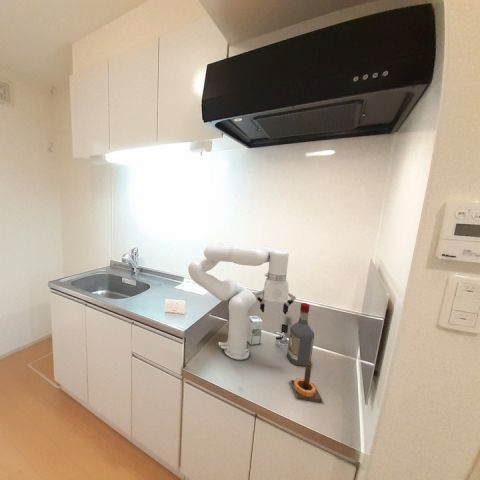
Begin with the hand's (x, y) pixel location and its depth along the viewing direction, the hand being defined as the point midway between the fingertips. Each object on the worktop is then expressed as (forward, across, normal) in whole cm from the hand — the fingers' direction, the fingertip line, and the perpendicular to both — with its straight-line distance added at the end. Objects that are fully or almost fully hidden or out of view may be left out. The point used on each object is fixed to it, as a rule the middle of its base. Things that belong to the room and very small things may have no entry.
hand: (273, 312), depth 117 cm
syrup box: (+28, -4, +20) cm, 35 cm away
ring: (+27, +11, -14) cm, 32 cm away
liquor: (+28, +16, +8) cm, 34 cm away
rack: (+28, +12, -14) cm, 34 cm away
